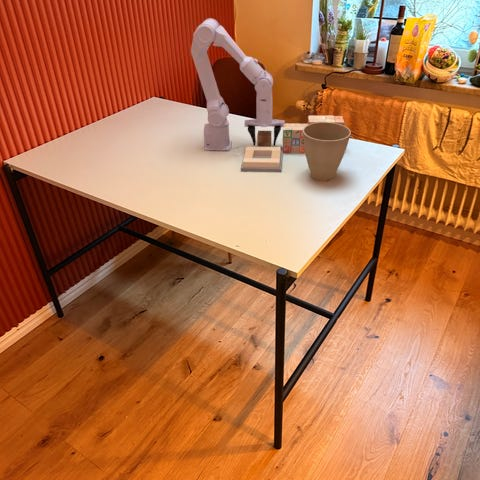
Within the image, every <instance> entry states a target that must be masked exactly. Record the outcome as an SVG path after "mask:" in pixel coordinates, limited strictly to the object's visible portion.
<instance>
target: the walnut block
mask: <svg viewBox="0 0 480 480" xmlns="http://www.w3.org/2000/svg"><path fill="white" fill-rule="evenodd" d="M272 132H273V131H272V130H258V131H257V135H256V144H257V146H256V147H272Z"/></svg>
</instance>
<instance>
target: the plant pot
mask: <svg viewBox="0 0 480 480" xmlns="http://www.w3.org/2000/svg"><path fill="white" fill-rule="evenodd" d="M351 132H352V131H351V130H350V128H348V127H347V126H346V125H344V126H343V125H341V124H337V123H331V122H317V123H312V124H309V125H307V126H306V127H304V129H303V138H304V148H305V153H304V155H305V158H306V162H307V166H308V169H309V172H310V176H311V177H312V178H313V179H314V180H316V181H321V182H324V181H325V182H326V181H330V180H332V179H333V178H334V176H335V175H336V173H337V171H338V169H339V167H340V165H341V163H342V161H343V158H344V156H345V153H346V150H347V147H348V144H349V140H350V137H351Z"/></svg>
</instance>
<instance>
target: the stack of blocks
mask: <svg viewBox="0 0 480 480" xmlns="http://www.w3.org/2000/svg"><path fill="white" fill-rule="evenodd" d="M307 119H308V120H307V123H287V122H286V123H284V126H283V127H282V129H283V130H282V151H283V154H305V148H304V138H303V129H304V127H306V126H307V125H309V124H312V123H317V122H331V123H337V124H341V125H343V126H345V121H344V116H343V115H308V117H307Z"/></svg>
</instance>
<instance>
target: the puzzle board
mask: <svg viewBox="0 0 480 480" xmlns="http://www.w3.org/2000/svg"><path fill="white" fill-rule="evenodd" d="M243 152H244V153H243V157H242V161H241V167H240V171H241V172H252V173H253V172H256V173H257V172H259V173H260V172H262V173H263V172H265V173H282V169H283V167H282V166H283V155H284V153H283V150H281V146H271V147H257V146H249V145H248V146H246V147H245V150H244V151H243Z"/></svg>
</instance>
